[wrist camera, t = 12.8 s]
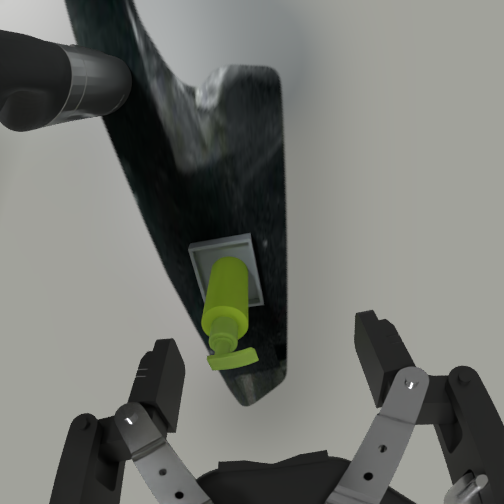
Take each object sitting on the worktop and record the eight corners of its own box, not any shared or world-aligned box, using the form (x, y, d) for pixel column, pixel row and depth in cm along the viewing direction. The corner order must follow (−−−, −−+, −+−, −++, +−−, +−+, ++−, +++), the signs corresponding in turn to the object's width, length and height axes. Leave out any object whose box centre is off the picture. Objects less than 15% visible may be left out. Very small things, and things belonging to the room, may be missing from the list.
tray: (190, 243, 50) (188, 249, 48) (250, 232, 49) (250, 238, 47) (208, 305, 55) (207, 312, 53) (263, 297, 54) (263, 304, 52)
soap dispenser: (258, 282, 52) (263, 375, 34) (217, 291, 53) (205, 384, 35) (248, 250, 50) (249, 338, 32) (206, 261, 50) (186, 350, 33)
